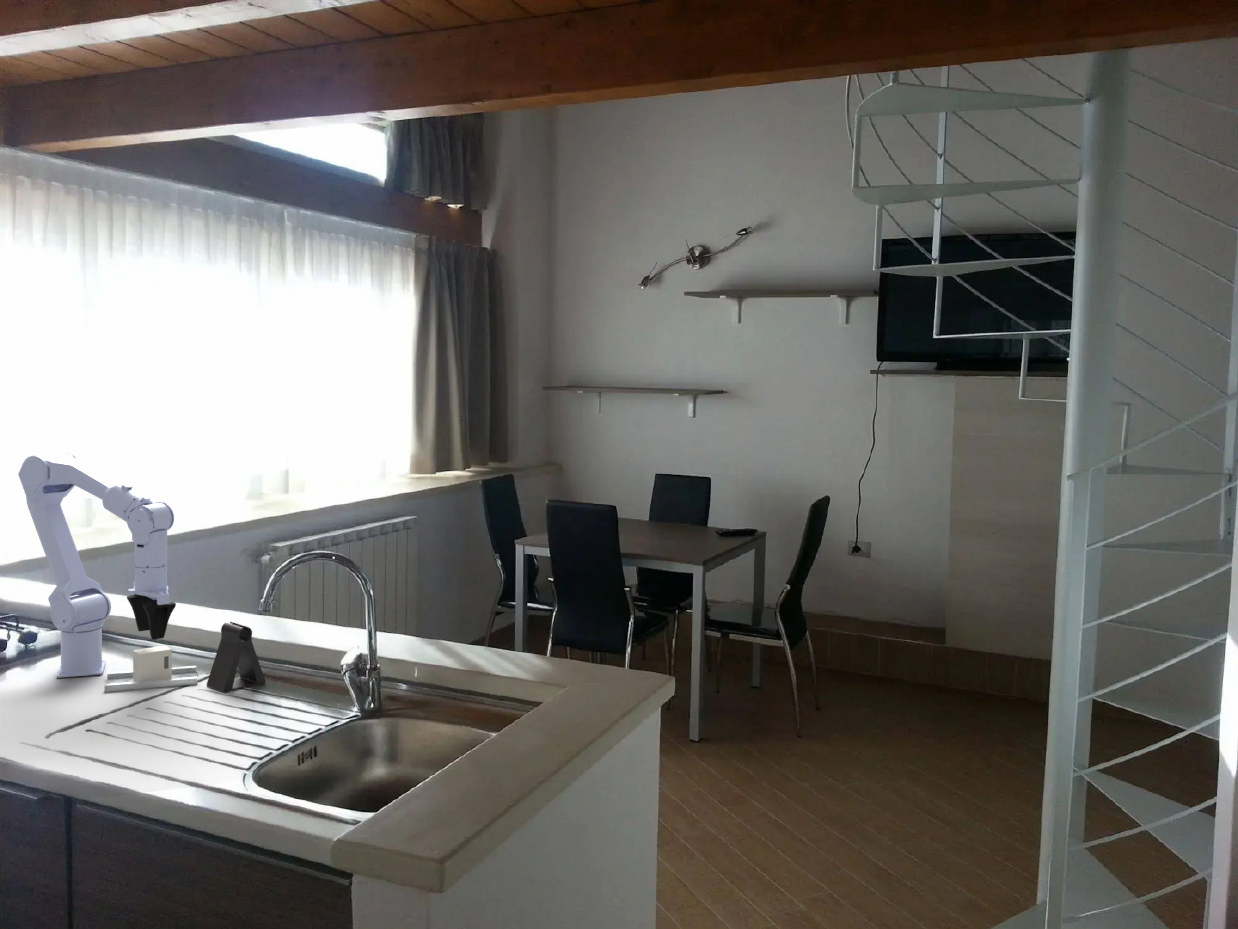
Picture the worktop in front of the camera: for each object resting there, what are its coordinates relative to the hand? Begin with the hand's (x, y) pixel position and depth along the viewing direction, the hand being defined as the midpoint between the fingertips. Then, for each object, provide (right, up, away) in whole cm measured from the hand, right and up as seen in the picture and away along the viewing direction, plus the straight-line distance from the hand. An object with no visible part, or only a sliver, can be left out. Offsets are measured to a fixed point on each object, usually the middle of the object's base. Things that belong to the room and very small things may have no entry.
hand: (151, 634), depth 190 cm
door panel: (0, -9, +1) cm, 9 cm away
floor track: (0, -9, +1) cm, 9 cm away
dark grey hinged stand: (+16, -10, +1) cm, 19 cm away
